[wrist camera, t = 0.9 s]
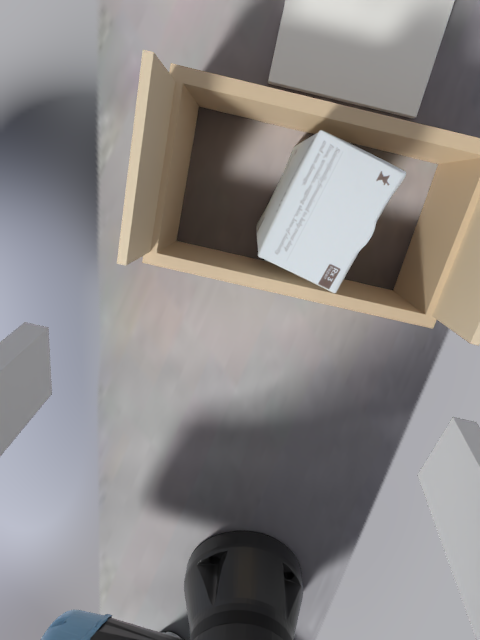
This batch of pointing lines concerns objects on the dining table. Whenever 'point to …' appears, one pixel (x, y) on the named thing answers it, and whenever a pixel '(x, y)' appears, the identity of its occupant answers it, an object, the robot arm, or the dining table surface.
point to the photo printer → (171, 634)
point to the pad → (360, 50)
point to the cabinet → (311, 116)
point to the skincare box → (325, 208)
